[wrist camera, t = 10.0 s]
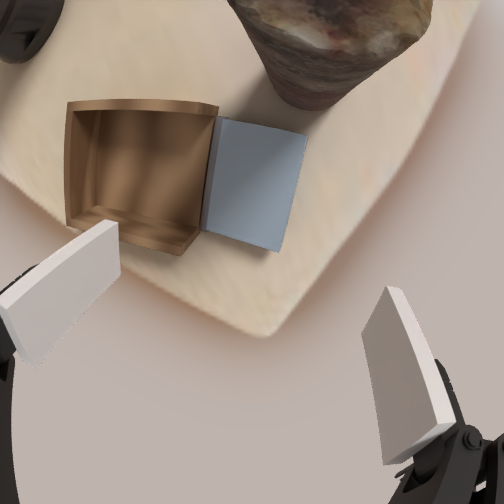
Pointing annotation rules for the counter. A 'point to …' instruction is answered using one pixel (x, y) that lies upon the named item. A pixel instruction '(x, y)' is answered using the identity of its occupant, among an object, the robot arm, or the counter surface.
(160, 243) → the box
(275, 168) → the panel
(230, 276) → the counter surface
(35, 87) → the counter surface
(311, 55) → the candle
